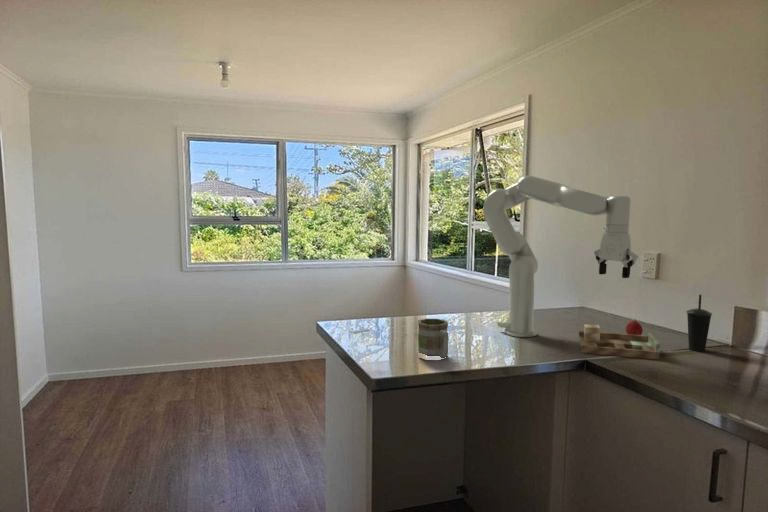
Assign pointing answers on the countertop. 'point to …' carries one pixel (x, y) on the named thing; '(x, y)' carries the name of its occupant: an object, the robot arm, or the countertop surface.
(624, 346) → the track
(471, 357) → the countertop surface
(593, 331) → the block
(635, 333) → the onion
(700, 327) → the drinking cup
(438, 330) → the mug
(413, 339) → the countertop surface
